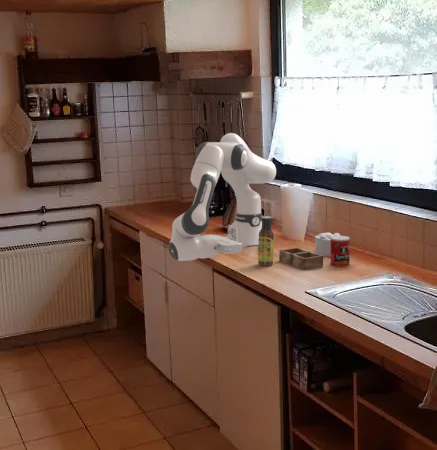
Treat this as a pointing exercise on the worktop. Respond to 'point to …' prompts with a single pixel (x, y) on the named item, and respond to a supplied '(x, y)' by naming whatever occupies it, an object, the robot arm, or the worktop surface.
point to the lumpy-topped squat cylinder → (324, 243)
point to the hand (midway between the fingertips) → (240, 241)
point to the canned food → (340, 250)
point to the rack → (301, 258)
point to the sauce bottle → (266, 243)
